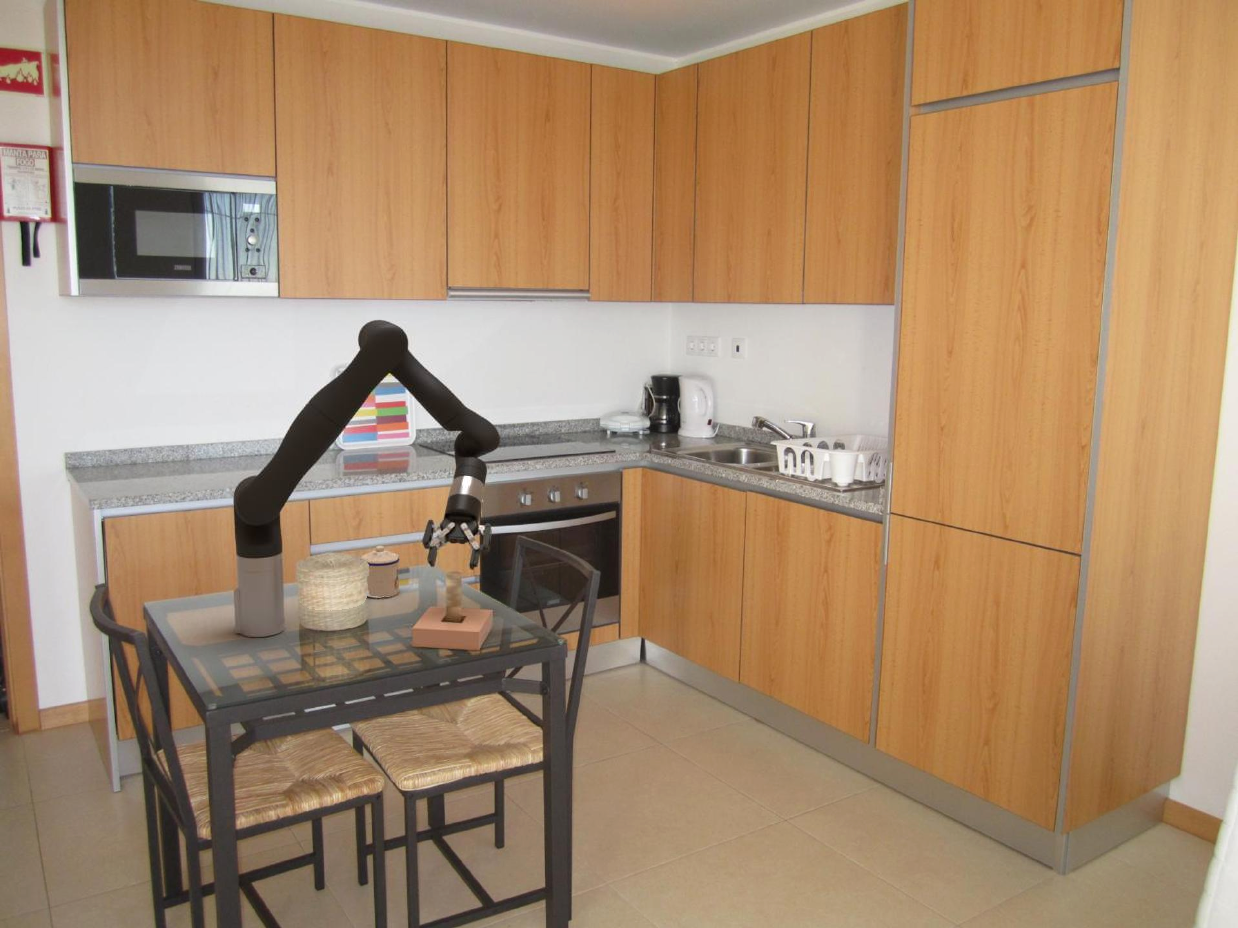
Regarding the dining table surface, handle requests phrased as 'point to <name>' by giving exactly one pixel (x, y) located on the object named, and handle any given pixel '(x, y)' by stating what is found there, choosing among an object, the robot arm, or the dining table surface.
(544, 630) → the dining table surface
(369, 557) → the tan lidded jar
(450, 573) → the peg
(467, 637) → the socket block
